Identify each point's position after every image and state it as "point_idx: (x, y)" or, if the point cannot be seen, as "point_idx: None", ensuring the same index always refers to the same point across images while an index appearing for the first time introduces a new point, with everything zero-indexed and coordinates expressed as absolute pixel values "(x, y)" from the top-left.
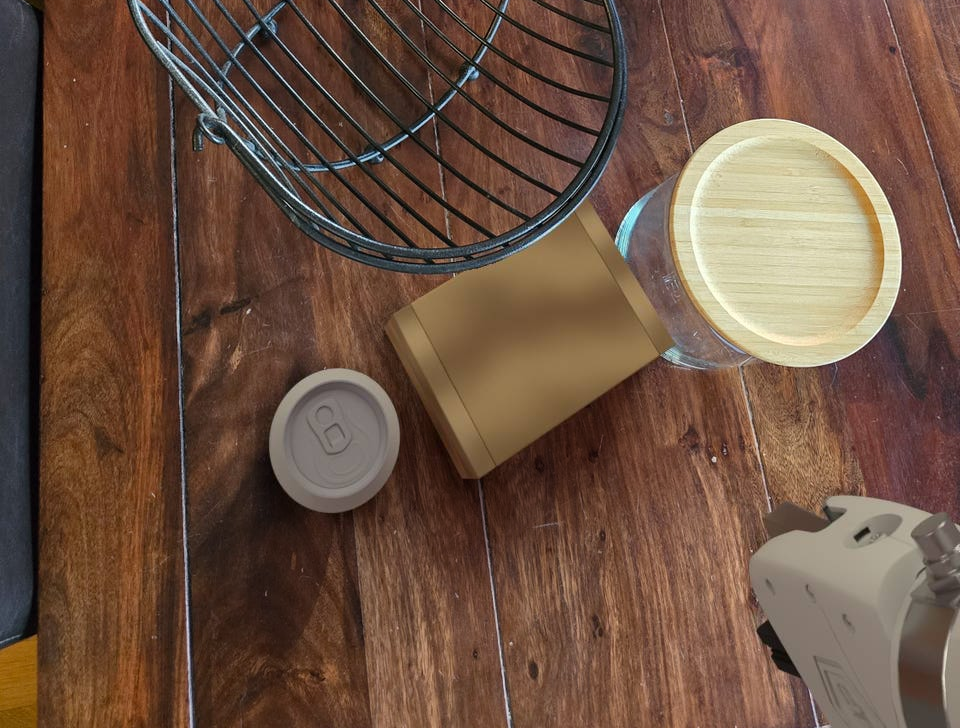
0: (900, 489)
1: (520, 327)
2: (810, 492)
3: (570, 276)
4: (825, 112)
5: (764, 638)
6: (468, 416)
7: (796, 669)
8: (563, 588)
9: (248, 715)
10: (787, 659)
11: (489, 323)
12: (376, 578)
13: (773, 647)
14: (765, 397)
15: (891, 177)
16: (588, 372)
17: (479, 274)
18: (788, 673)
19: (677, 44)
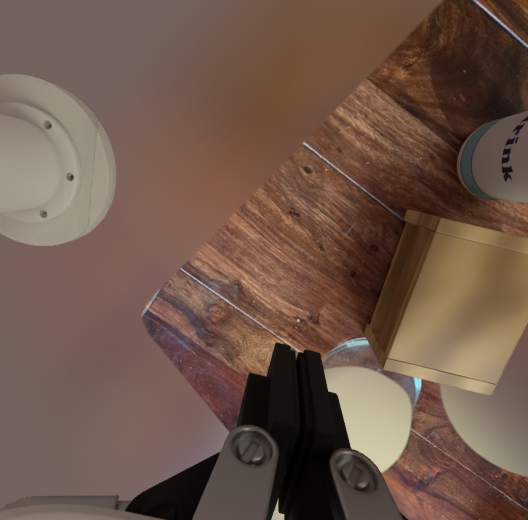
0: (214, 377)
1: (477, 306)
2: (248, 344)
3: (469, 352)
4: None
5: (316, 362)
6: (473, 240)
7: (287, 393)
8: (321, 212)
9: (427, 16)
10: (292, 378)
11: (498, 292)
12: (413, 131)
13: (303, 364)
14: None
15: None
16: (419, 318)
17: (525, 310)
18: (275, 361)
19: (456, 467)
